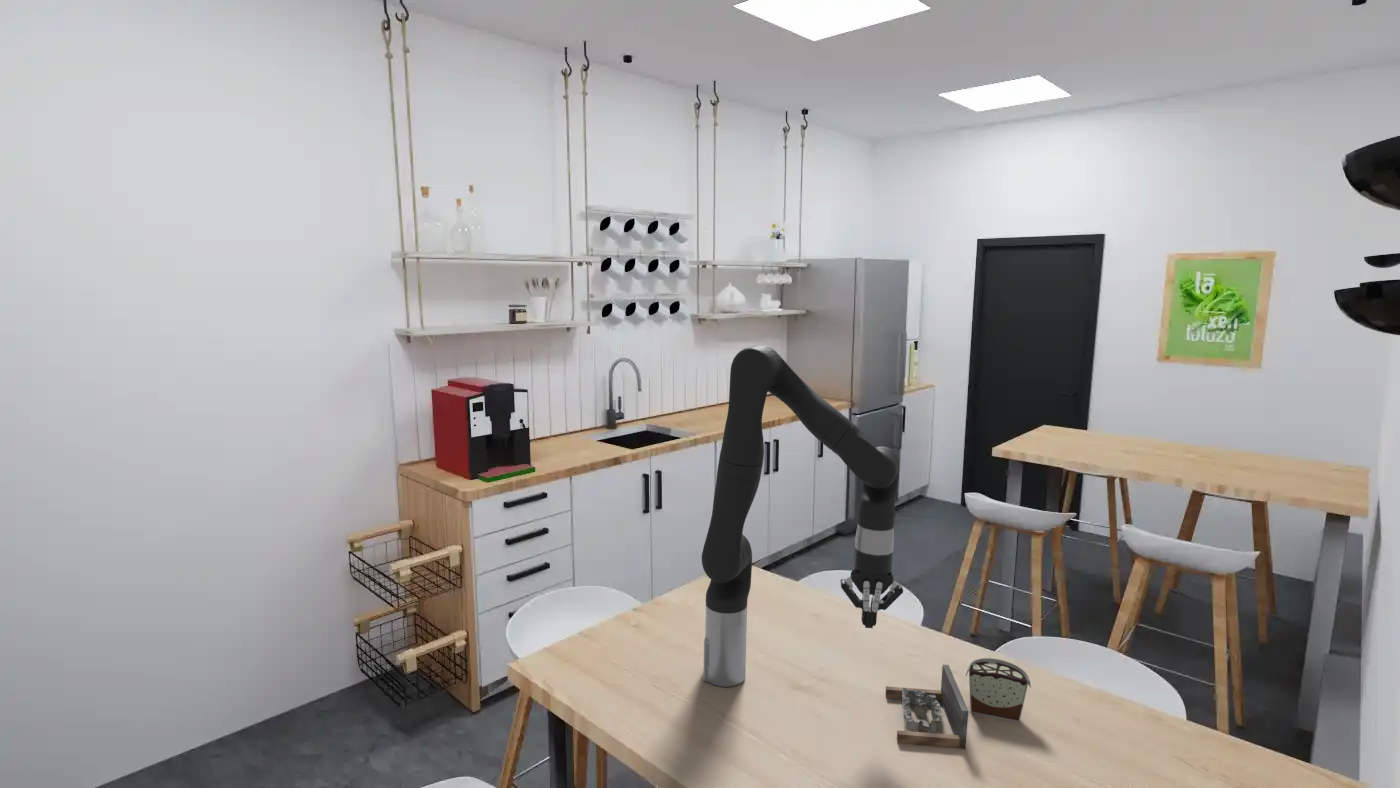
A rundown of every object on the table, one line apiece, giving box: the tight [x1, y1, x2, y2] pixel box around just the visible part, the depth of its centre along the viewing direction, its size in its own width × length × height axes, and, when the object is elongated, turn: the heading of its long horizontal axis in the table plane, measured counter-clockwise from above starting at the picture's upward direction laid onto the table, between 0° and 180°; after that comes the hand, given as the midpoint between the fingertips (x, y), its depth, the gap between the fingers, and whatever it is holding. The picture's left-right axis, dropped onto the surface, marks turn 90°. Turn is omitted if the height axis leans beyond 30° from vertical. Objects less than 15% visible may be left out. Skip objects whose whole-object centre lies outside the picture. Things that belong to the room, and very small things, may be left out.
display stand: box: [884, 664, 970, 750], centre depth 144 cm, size 13×16×8 cm
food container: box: [965, 657, 1032, 723], centre depth 148 cm, size 12×6×10 cm, turn 71°
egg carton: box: [901, 686, 943, 734], centre depth 146 cm, size 11×8×4 cm
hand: (868, 626), depth 146 cm, fingers closed
